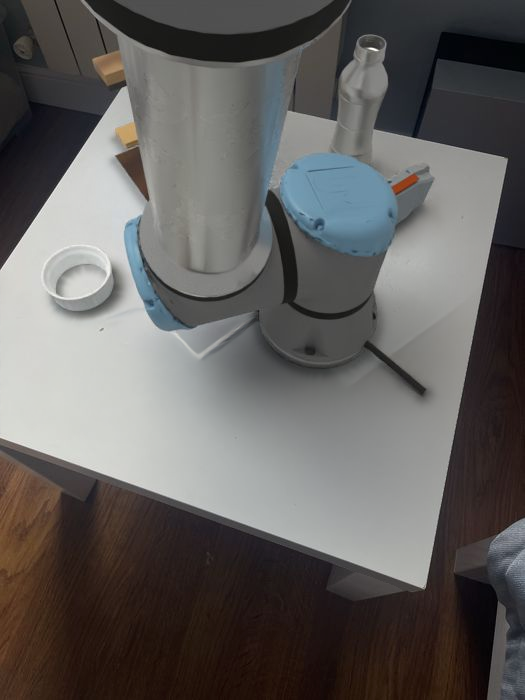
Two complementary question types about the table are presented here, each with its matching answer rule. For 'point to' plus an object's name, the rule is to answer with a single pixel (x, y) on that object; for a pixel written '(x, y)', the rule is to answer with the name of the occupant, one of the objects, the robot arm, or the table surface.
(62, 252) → the ramekin
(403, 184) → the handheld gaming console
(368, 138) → the plastic bottle
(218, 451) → the table surface
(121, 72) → the brush
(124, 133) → the crumb
